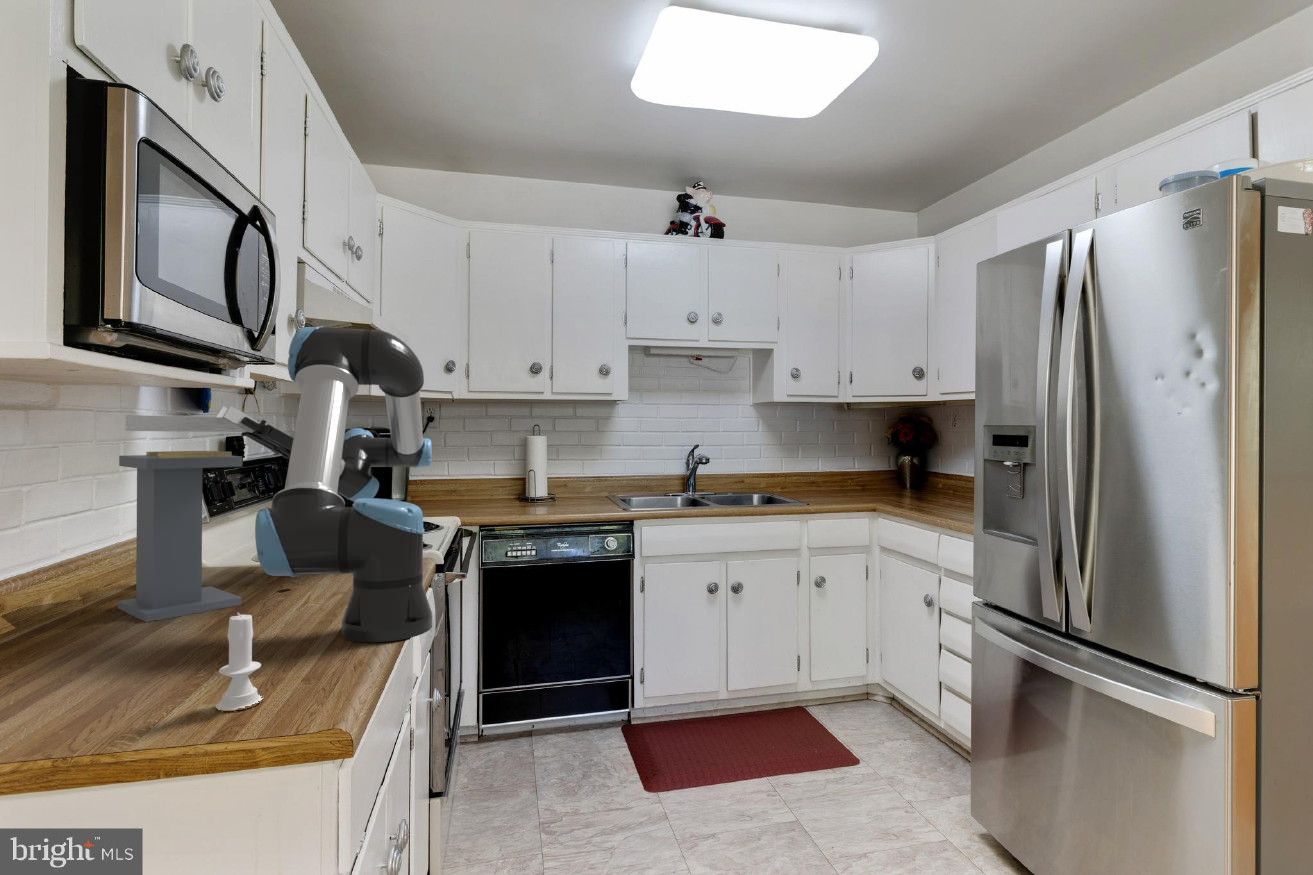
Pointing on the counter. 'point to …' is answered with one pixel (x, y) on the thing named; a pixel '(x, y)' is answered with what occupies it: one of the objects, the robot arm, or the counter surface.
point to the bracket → (188, 454)
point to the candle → (239, 665)
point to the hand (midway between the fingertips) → (223, 411)
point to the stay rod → (185, 424)
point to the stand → (172, 538)
